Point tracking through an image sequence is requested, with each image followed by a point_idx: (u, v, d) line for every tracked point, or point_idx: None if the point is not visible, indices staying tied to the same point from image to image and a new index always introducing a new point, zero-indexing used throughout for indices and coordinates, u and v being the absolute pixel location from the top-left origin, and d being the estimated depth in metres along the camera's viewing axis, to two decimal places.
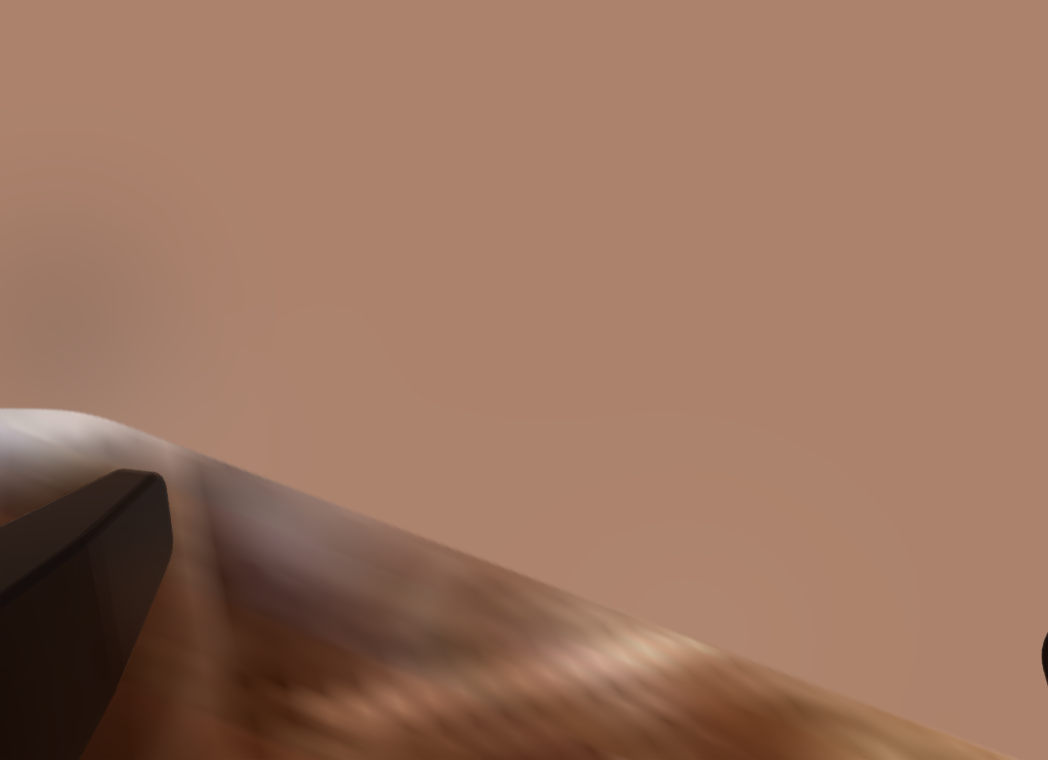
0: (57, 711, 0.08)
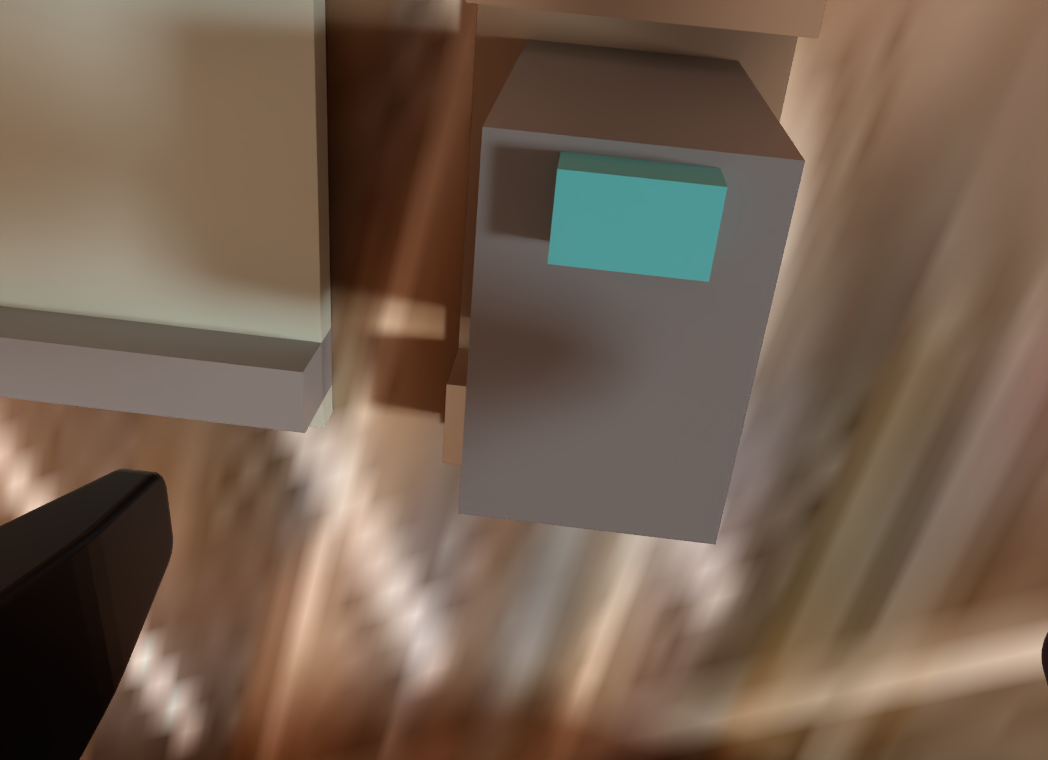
0: (57, 711, 0.08)
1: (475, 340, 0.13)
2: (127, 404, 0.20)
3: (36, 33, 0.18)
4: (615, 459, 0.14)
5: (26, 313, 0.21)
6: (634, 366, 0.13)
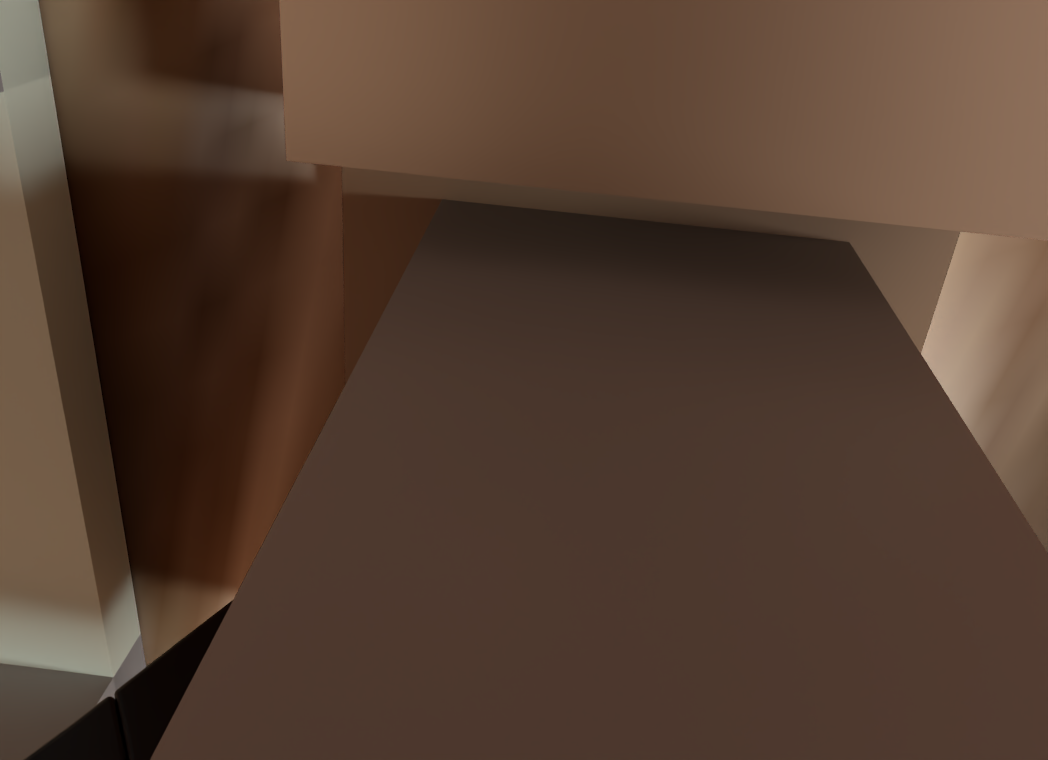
0: None
1: None
2: None
3: None
4: None
5: None
6: None
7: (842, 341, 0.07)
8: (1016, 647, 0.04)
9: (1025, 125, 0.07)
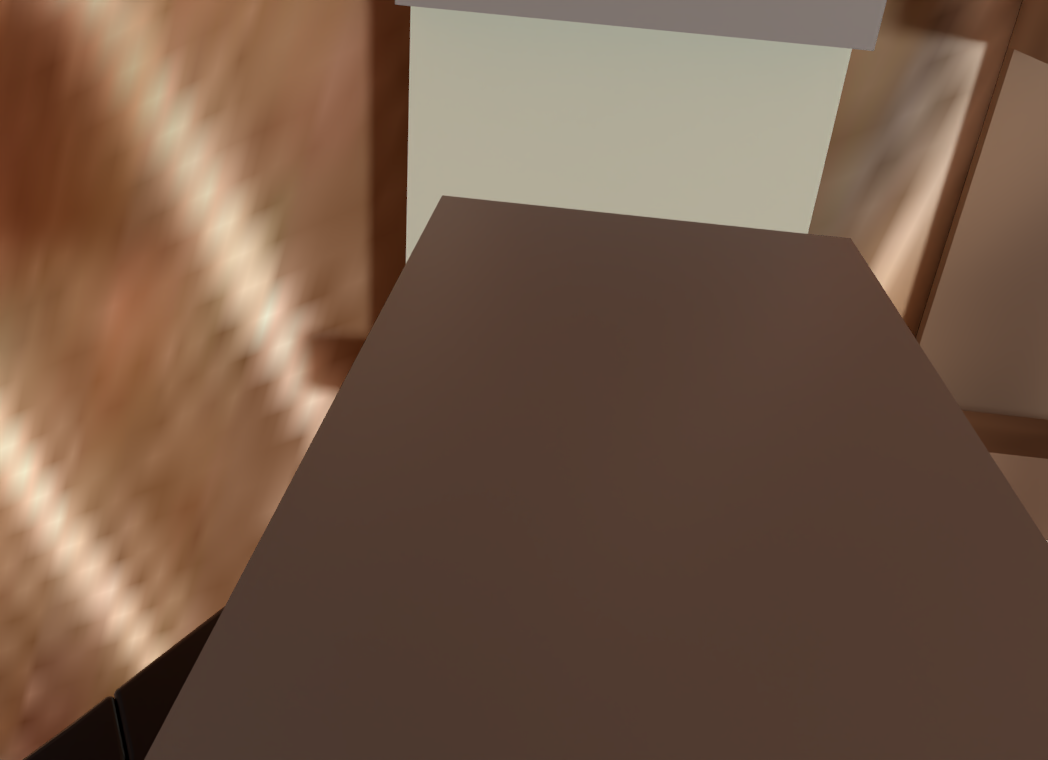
0: None
1: None
2: None
3: (543, 92, 0.17)
4: None
5: None
6: None
7: (843, 337, 0.07)
8: (1019, 642, 0.04)
9: None
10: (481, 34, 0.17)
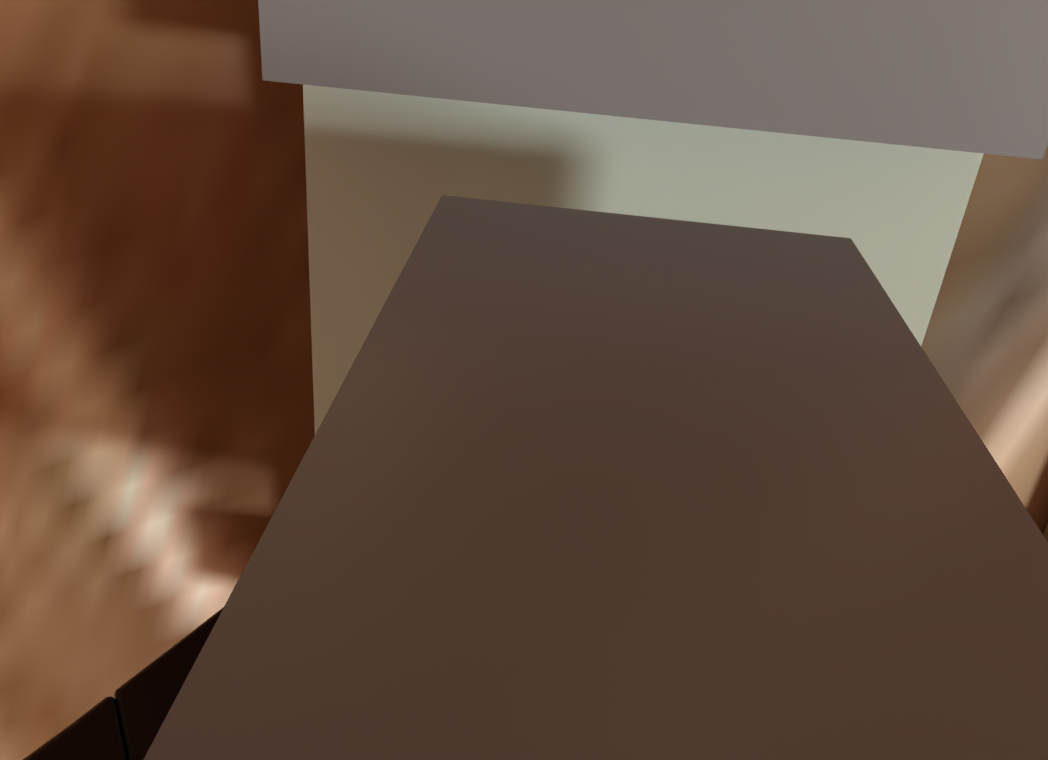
0: None
1: None
2: None
3: None
4: None
5: None
6: None
7: (843, 337, 0.07)
8: (1019, 642, 0.04)
9: None
10: (412, 116, 0.11)
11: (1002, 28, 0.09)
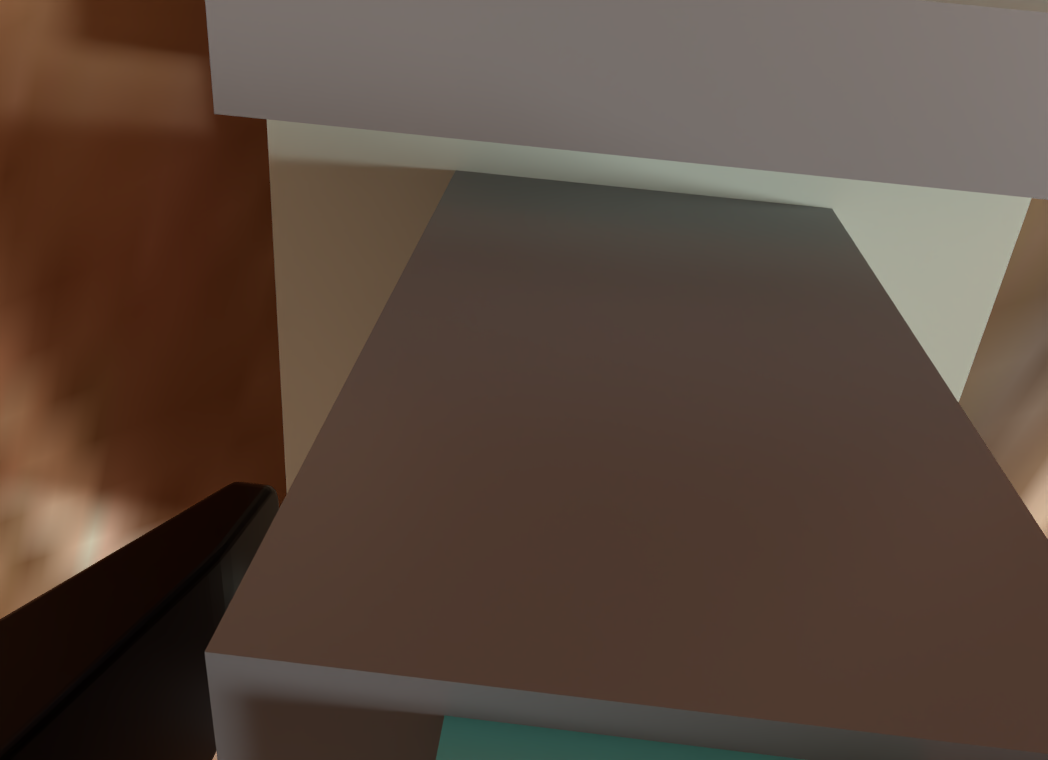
0: (190, 728, 0.08)
1: None
2: None
3: None
4: None
5: None
6: None
7: (821, 289, 0.08)
8: (958, 522, 0.05)
9: None
10: (390, 149, 0.10)
11: None
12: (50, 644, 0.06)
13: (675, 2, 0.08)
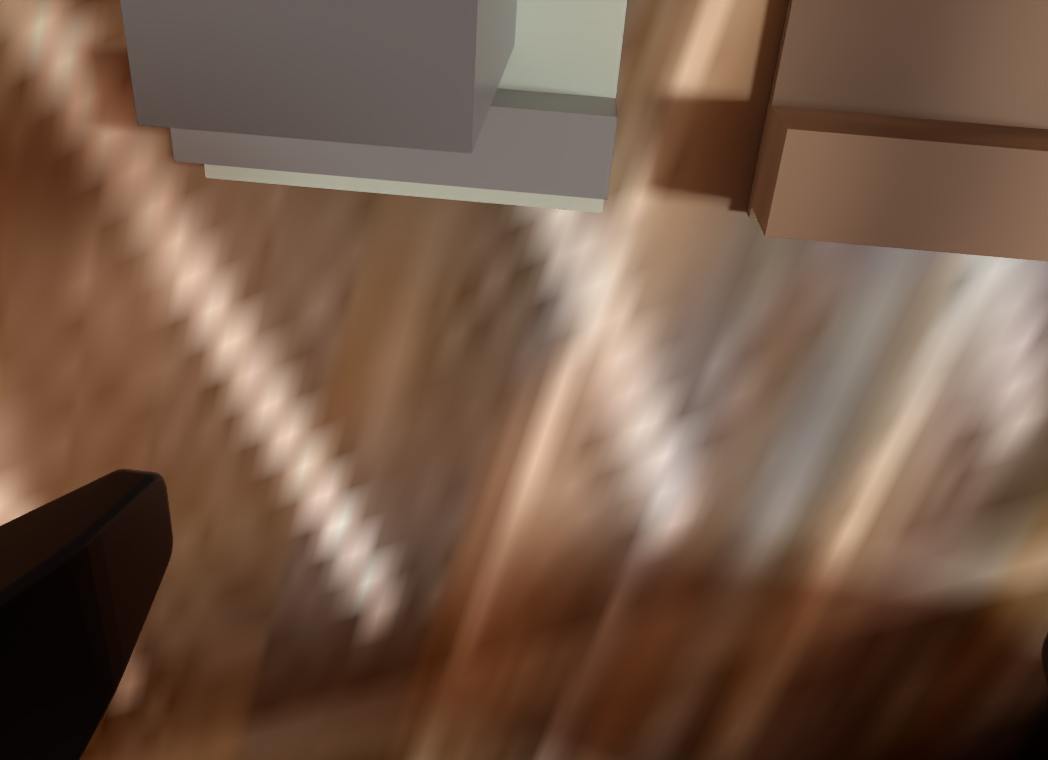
0: (57, 711, 0.08)
1: None
2: (394, 170, 0.17)
3: None
4: (322, 23, 0.10)
5: None
6: None
7: None
8: None
9: None
10: None
11: None
12: None
13: None
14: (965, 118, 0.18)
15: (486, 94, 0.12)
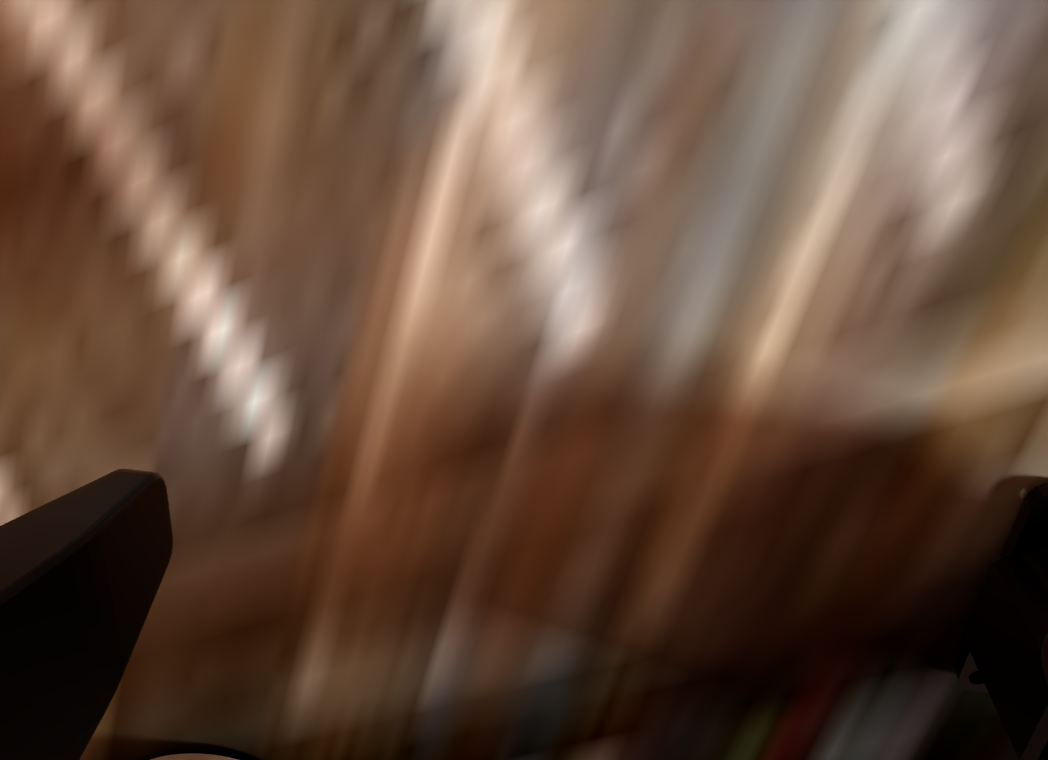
0: (57, 711, 0.08)
1: None
2: None
3: None
4: None
5: None
6: None
7: None
8: None
9: None
10: None
11: None
12: None
13: None
14: None
15: None
